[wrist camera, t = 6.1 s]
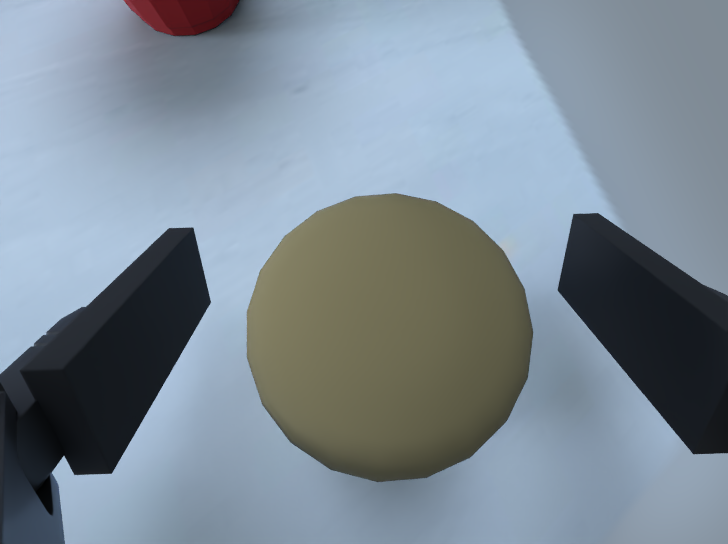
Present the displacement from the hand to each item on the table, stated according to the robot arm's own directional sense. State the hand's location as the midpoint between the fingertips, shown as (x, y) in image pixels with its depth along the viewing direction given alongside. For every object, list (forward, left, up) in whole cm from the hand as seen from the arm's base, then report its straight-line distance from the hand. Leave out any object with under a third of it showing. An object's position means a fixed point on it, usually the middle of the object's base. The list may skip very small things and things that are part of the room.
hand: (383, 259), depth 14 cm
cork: (-2, +2, -5) cm, 6 cm away
